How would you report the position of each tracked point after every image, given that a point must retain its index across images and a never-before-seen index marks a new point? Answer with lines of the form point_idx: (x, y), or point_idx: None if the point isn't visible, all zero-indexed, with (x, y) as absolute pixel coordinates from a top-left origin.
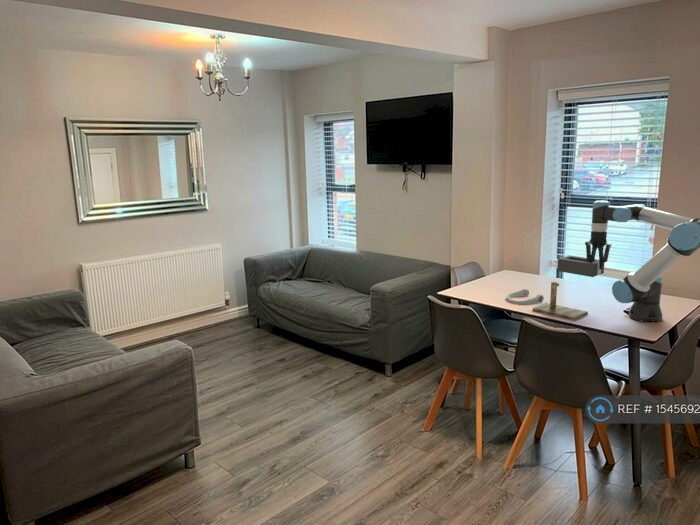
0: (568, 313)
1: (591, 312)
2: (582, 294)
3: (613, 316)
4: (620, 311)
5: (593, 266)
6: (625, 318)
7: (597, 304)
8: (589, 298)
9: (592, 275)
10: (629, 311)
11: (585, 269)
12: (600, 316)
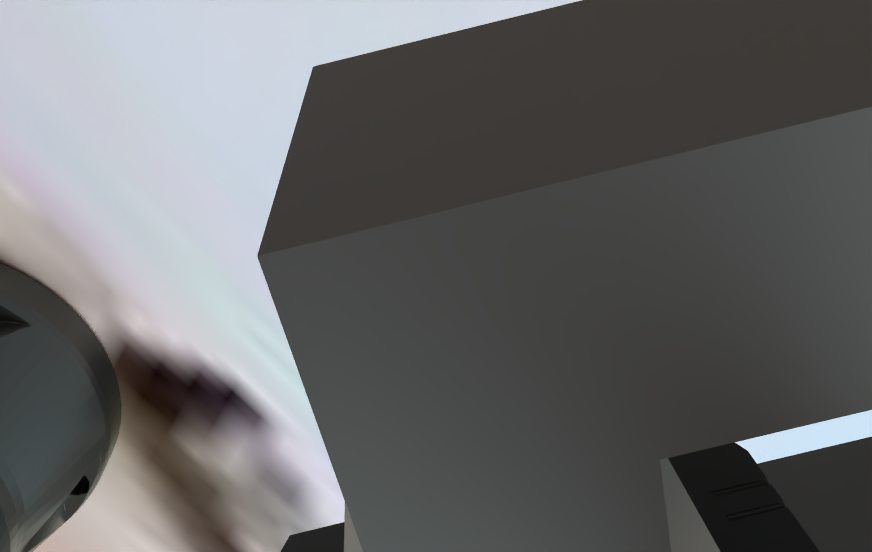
0: None
1: (379, 47)
2: None
3: (126, 147)
4: (246, 359)
5: (279, 212)
6: (5, 203)
7: None
8: (743, 444)
9: (314, 75)
10: (33, 325)
11: (663, 33)
12: (193, 3)
